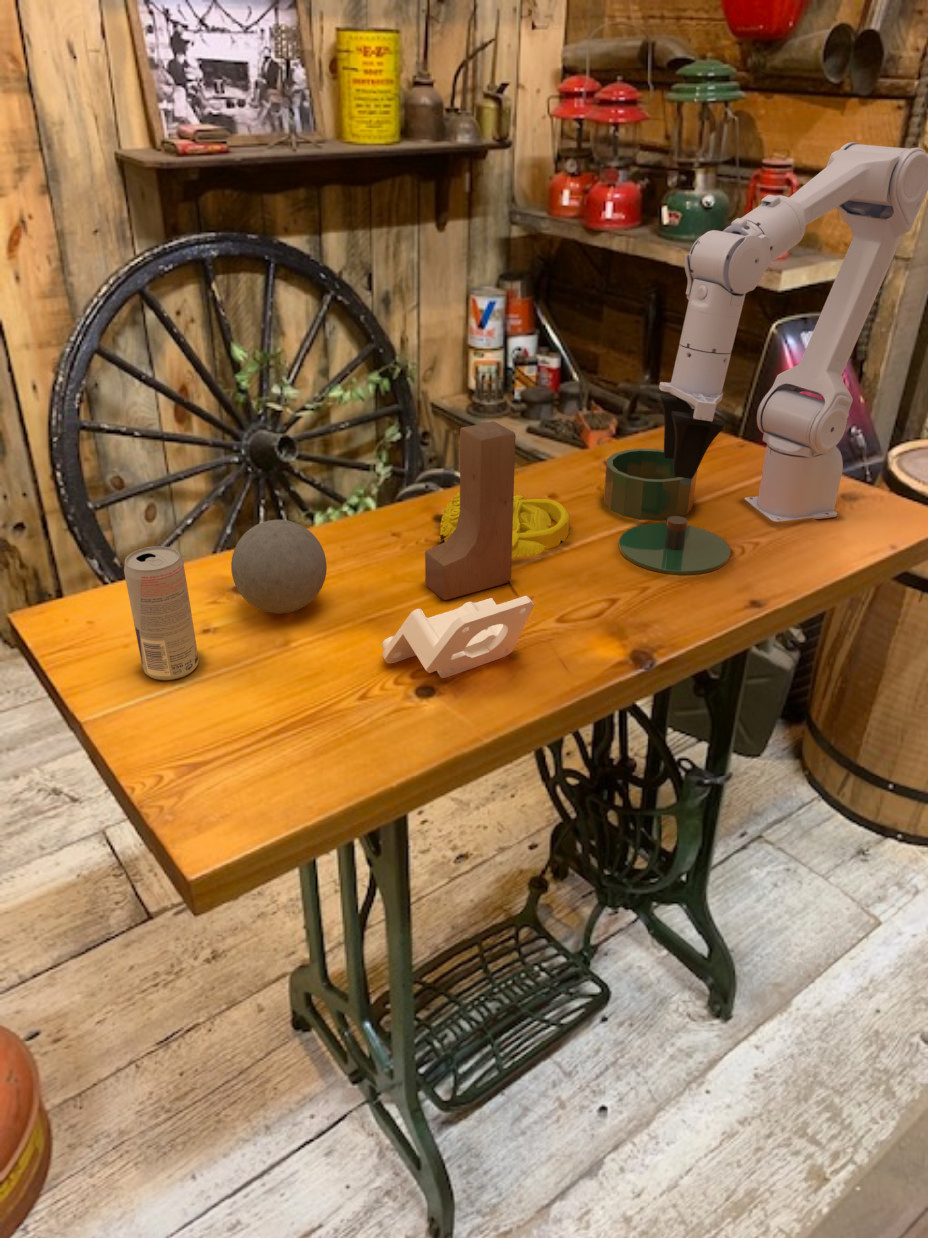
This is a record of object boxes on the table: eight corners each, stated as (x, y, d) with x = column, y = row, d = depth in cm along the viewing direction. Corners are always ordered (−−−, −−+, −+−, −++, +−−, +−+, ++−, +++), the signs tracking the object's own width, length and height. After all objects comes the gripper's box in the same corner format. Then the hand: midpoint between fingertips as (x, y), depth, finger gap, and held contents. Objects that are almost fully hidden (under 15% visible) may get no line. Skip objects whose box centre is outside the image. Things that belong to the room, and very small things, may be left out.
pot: (667, 485, 138) (672, 445, 135) (707, 518, 128) (713, 476, 125) (590, 493, 135) (593, 452, 132) (624, 528, 125) (628, 485, 122)
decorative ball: (309, 636, 102) (302, 549, 97) (221, 624, 104) (209, 539, 99) (342, 591, 111) (336, 509, 106) (259, 581, 113) (250, 500, 108)
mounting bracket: (404, 702, 95) (427, 635, 87) (375, 653, 98) (394, 584, 90) (506, 666, 101) (536, 600, 93) (475, 620, 104) (501, 552, 96)
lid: (697, 525, 126) (701, 493, 124) (749, 571, 115) (755, 537, 113) (601, 537, 123) (604, 504, 121) (645, 585, 112) (649, 550, 110)
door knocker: (591, 539, 123) (593, 508, 121) (491, 574, 114) (492, 541, 112) (506, 496, 134) (507, 467, 132) (409, 526, 126) (409, 495, 123)
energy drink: (177, 646, 100) (159, 540, 94) (210, 664, 97) (194, 556, 91) (132, 668, 97) (110, 559, 91) (165, 688, 94) (145, 577, 88)
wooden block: (443, 602, 109) (442, 447, 99) (424, 585, 112) (421, 433, 103) (512, 583, 112) (517, 432, 103) (491, 567, 116) (494, 419, 107)
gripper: (660, 332, 115) (636, 446, 121) (679, 354, 102) (651, 480, 107) (720, 341, 115) (693, 454, 121) (746, 364, 102) (715, 489, 108)
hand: (677, 467), depth 114 cm, fingers open, 7 cm apart
